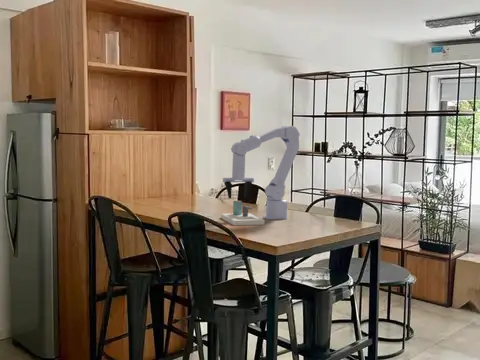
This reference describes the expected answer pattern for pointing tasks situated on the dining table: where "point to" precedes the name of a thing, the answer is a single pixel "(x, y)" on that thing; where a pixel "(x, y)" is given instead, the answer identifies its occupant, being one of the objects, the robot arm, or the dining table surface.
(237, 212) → the cylinder
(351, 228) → the dining table surface
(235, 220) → the white box with opening
